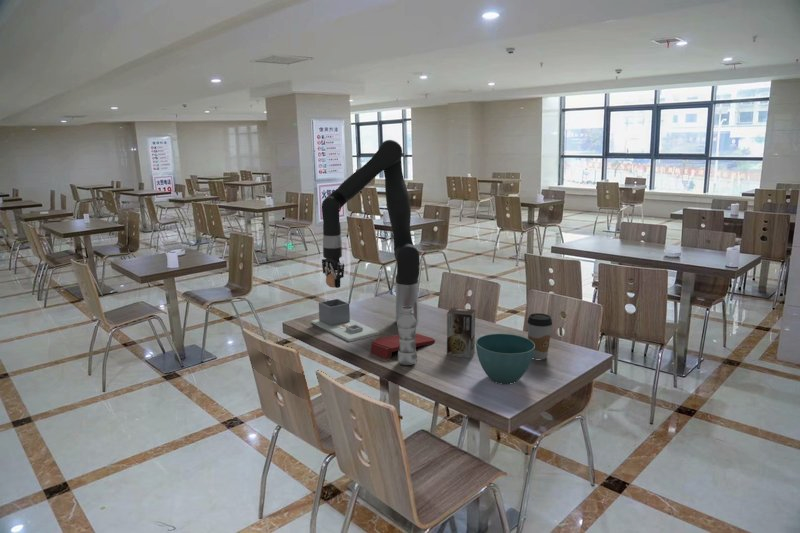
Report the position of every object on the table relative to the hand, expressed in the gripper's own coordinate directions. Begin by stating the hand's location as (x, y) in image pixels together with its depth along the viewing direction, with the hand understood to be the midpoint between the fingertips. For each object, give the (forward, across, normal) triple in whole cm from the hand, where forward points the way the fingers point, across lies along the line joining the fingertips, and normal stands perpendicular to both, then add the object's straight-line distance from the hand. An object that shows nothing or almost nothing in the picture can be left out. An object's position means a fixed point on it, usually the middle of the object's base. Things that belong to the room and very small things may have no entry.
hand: (333, 285), depth 227 cm
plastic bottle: (+16, -52, +3) cm, 55 cm away
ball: (-2, 0, 0) cm, 2 cm away
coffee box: (+16, -57, -17) cm, 62 cm away
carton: (+17, -39, -6) cm, 43 cm away
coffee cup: (+16, -76, -36) cm, 86 cm away
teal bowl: (+16, -81, -13) cm, 84 cm away
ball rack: (+16, -8, 0) cm, 18 cm away
